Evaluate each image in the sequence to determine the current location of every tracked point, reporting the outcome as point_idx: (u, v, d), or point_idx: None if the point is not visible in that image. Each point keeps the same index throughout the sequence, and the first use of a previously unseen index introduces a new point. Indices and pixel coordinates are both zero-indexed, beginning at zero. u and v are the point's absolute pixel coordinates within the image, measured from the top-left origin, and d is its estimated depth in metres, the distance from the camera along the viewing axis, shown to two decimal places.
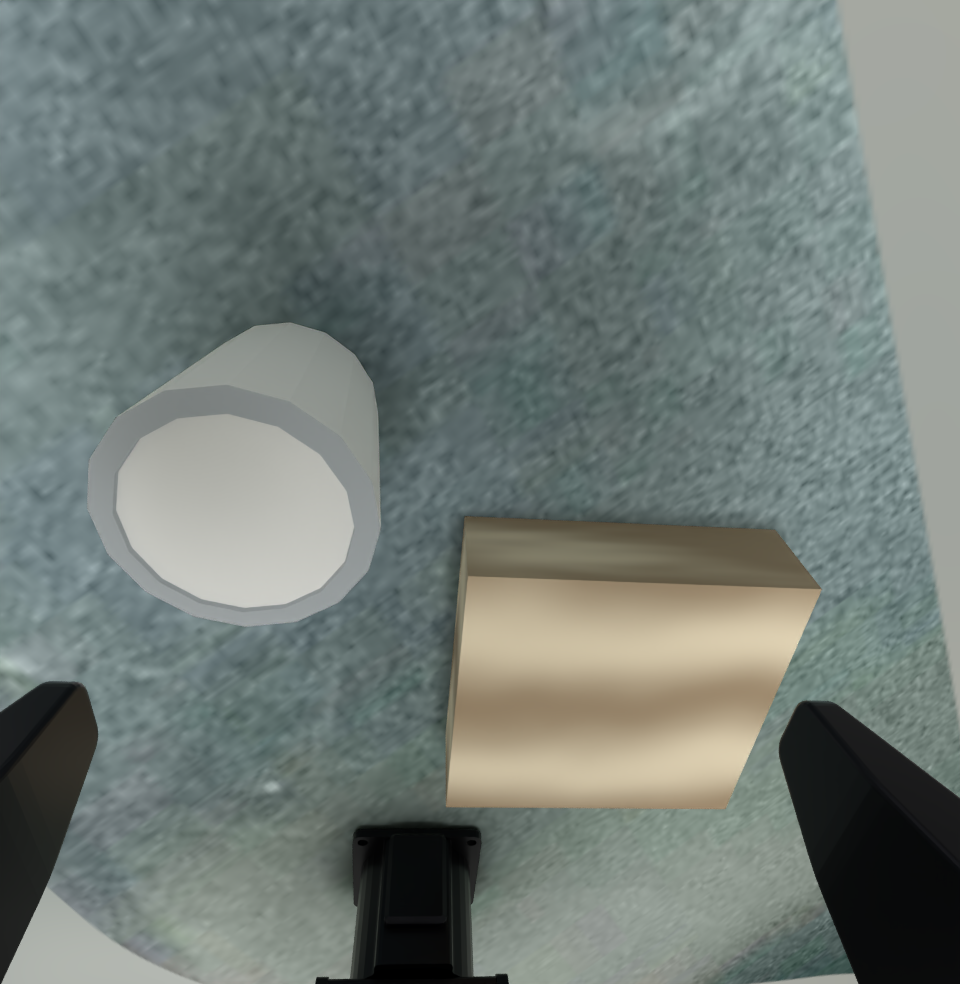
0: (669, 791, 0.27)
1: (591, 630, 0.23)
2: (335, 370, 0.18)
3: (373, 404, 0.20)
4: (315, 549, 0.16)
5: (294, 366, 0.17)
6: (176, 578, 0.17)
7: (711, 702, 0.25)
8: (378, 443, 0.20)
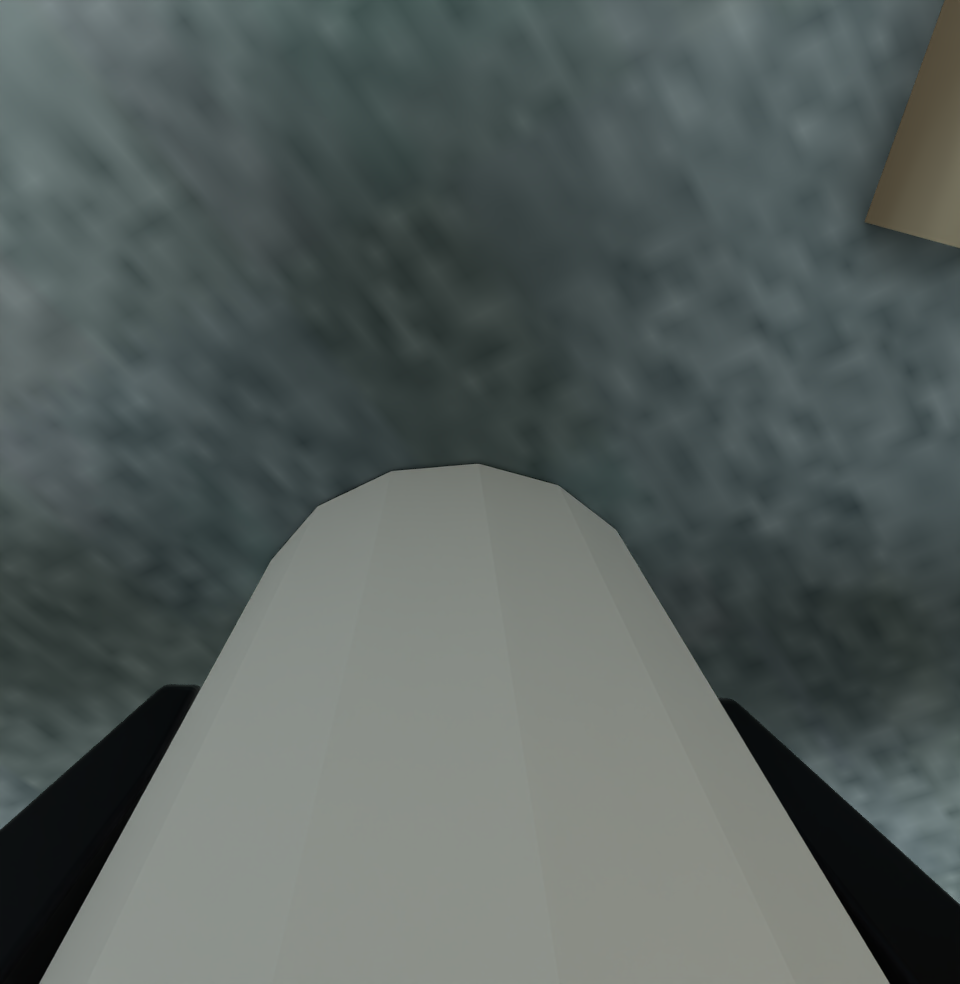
0: None
1: None
2: (220, 680, 0.06)
3: (385, 535, 0.07)
4: None
5: None
6: None
7: None
8: (480, 568, 0.06)
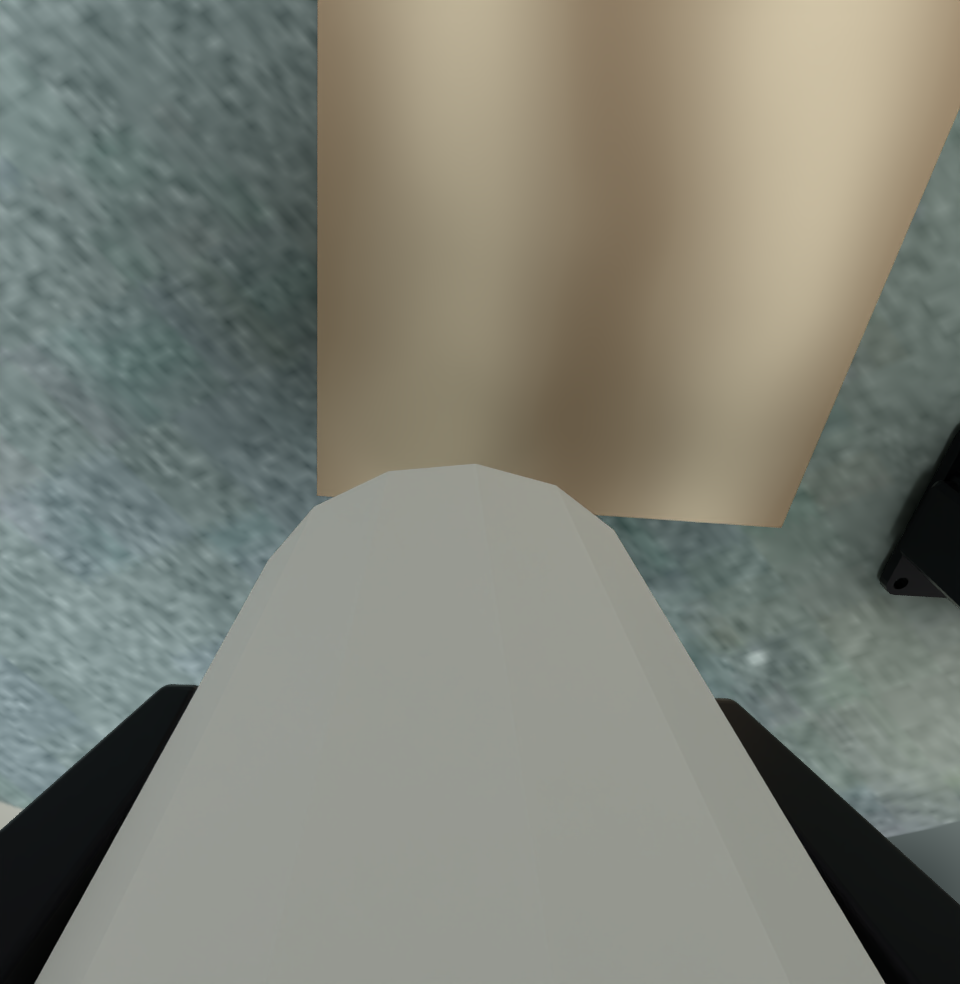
0: (897, 121, 0.13)
1: (419, 323, 0.14)
2: (216, 680, 0.06)
3: (382, 535, 0.07)
4: None
5: None
6: None
7: (633, 57, 0.12)
8: (477, 568, 0.06)
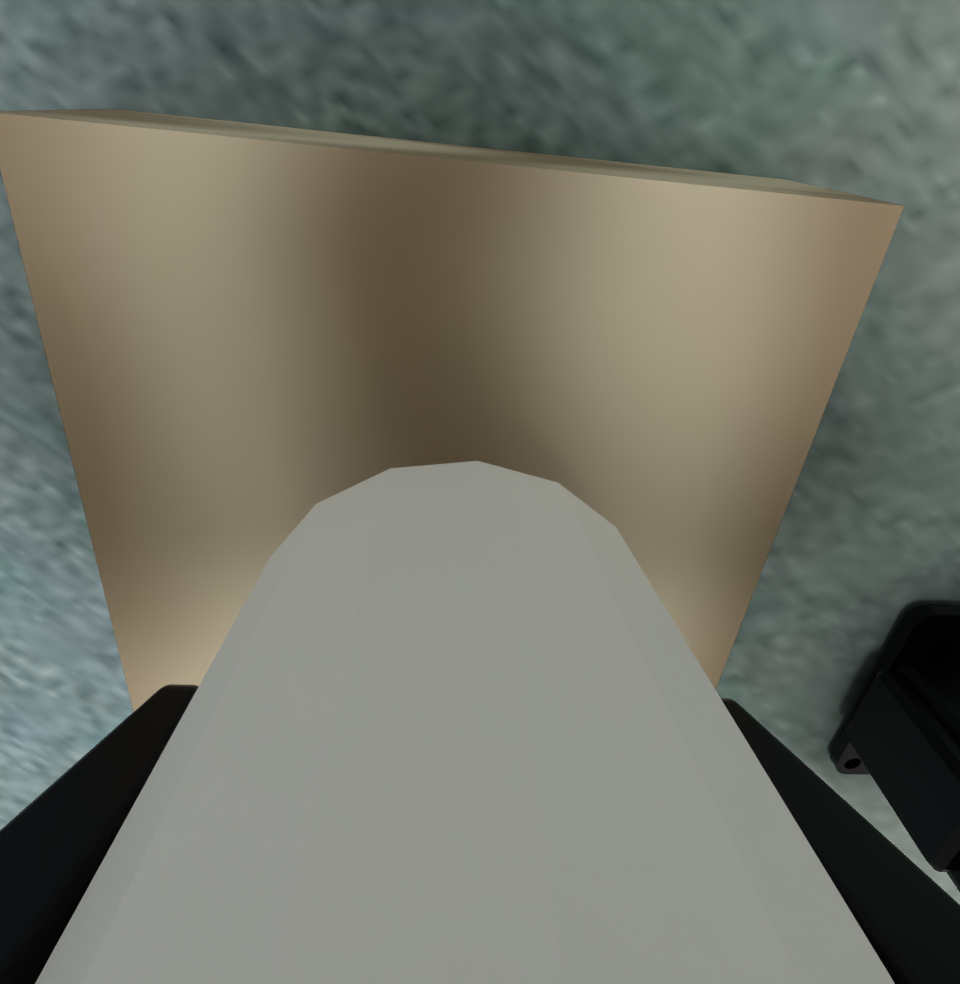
0: (765, 384, 0.10)
1: (227, 600, 0.12)
2: (218, 678, 0.06)
3: (384, 532, 0.07)
4: None
5: None
6: None
7: (429, 336, 0.10)
8: (480, 565, 0.06)
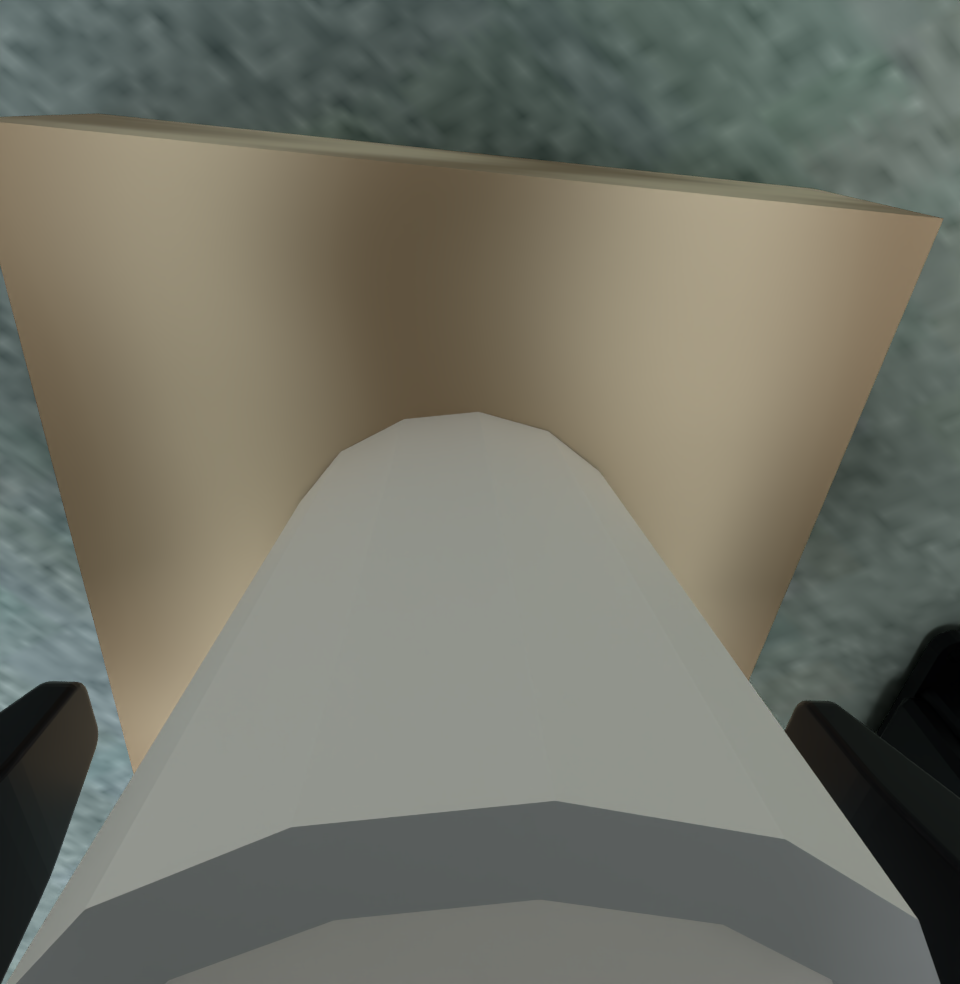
0: (791, 405, 0.10)
1: (222, 628, 0.11)
2: (265, 571, 0.07)
3: (400, 458, 0.08)
4: (631, 971, 0.04)
5: None
6: None
7: (436, 355, 0.09)
8: (479, 475, 0.07)
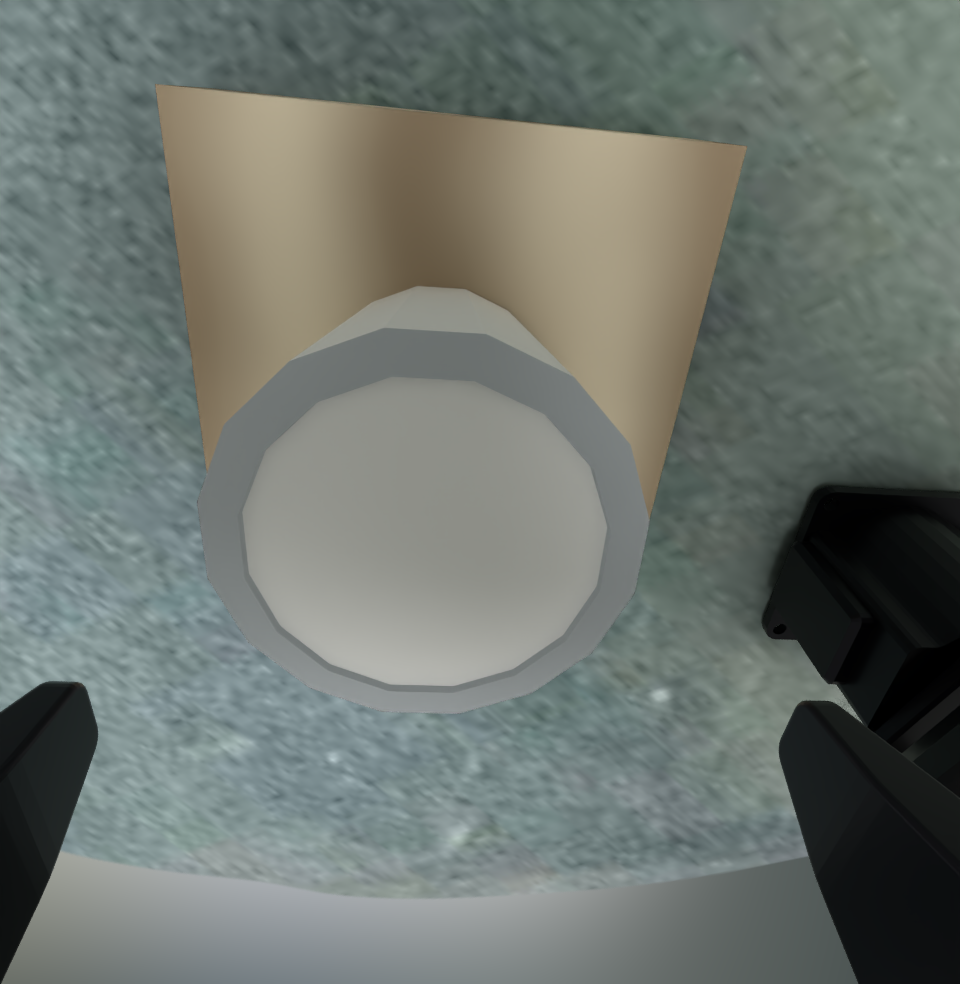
0: (665, 275, 0.15)
1: None
2: None
3: (363, 309, 0.14)
4: (458, 433, 0.09)
5: None
6: (559, 618, 0.11)
7: (433, 238, 0.14)
8: (402, 298, 0.13)
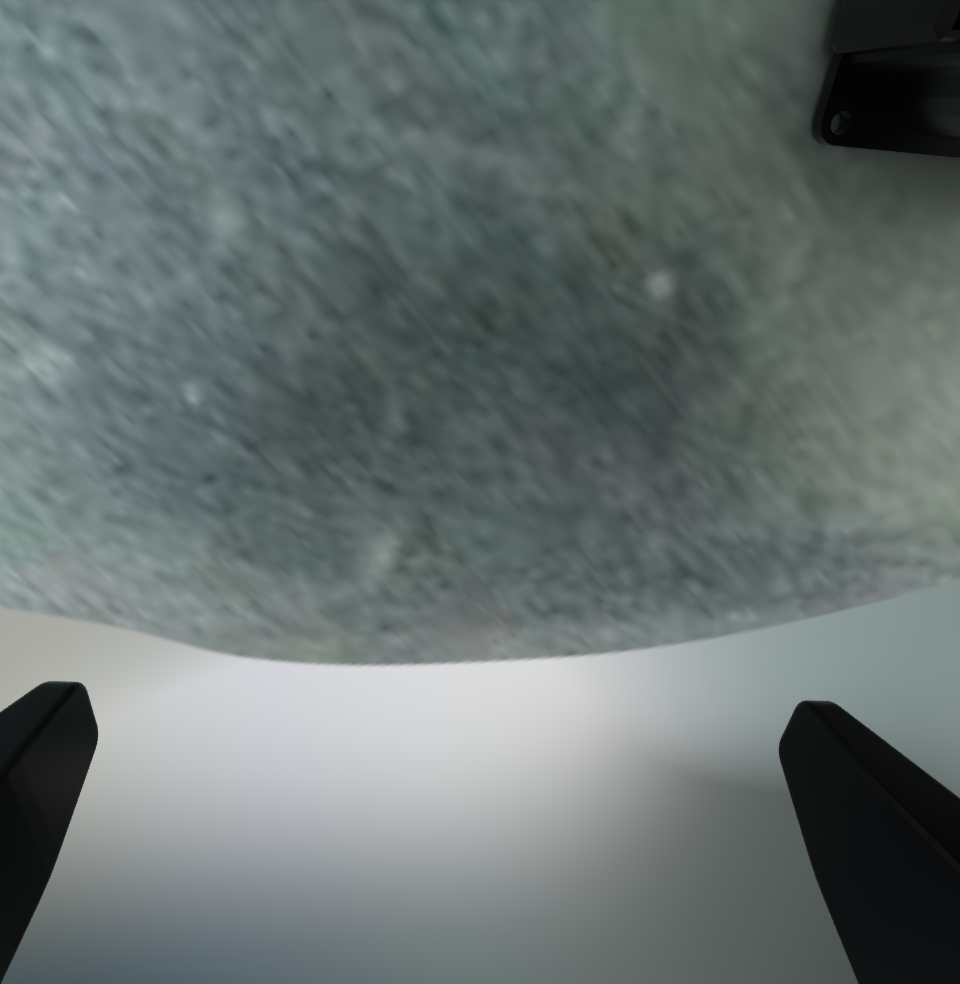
0: None
1: None
2: None
3: None
4: None
5: None
6: None
7: None
8: None
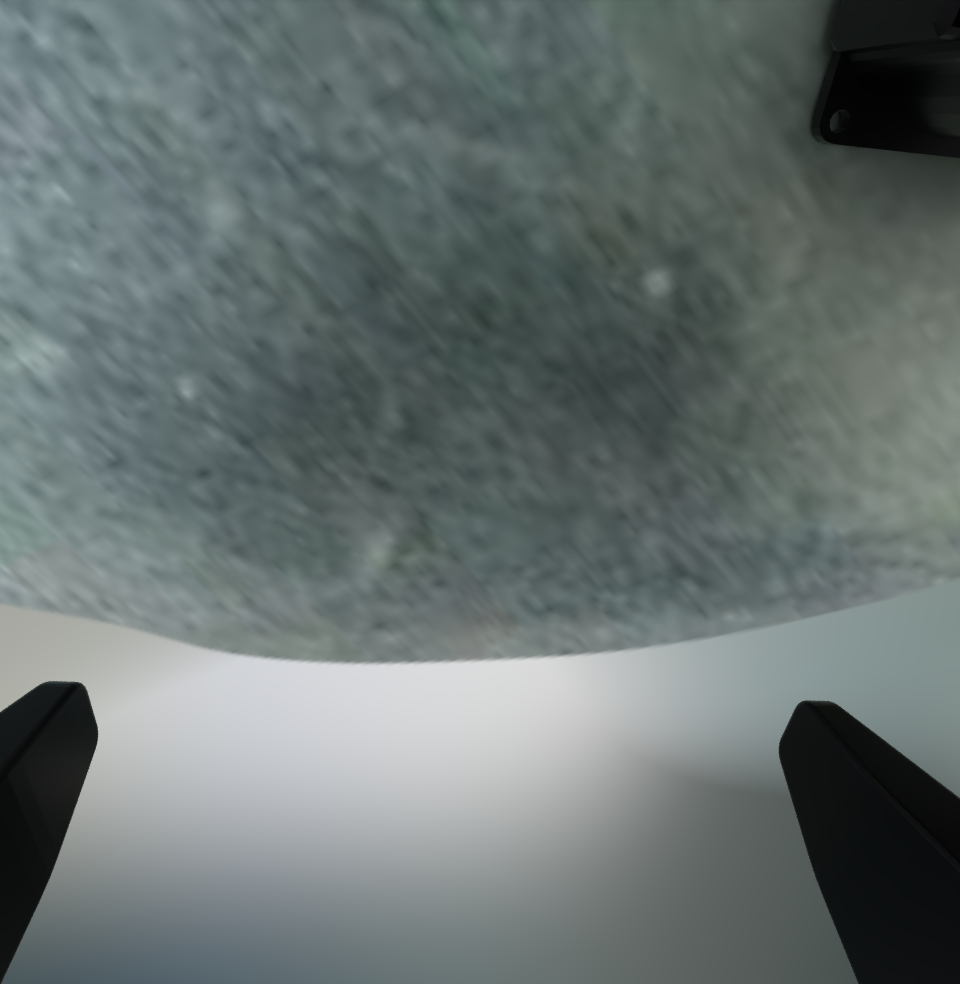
0: None
1: None
2: None
3: None
4: None
5: None
6: None
7: None
8: None
